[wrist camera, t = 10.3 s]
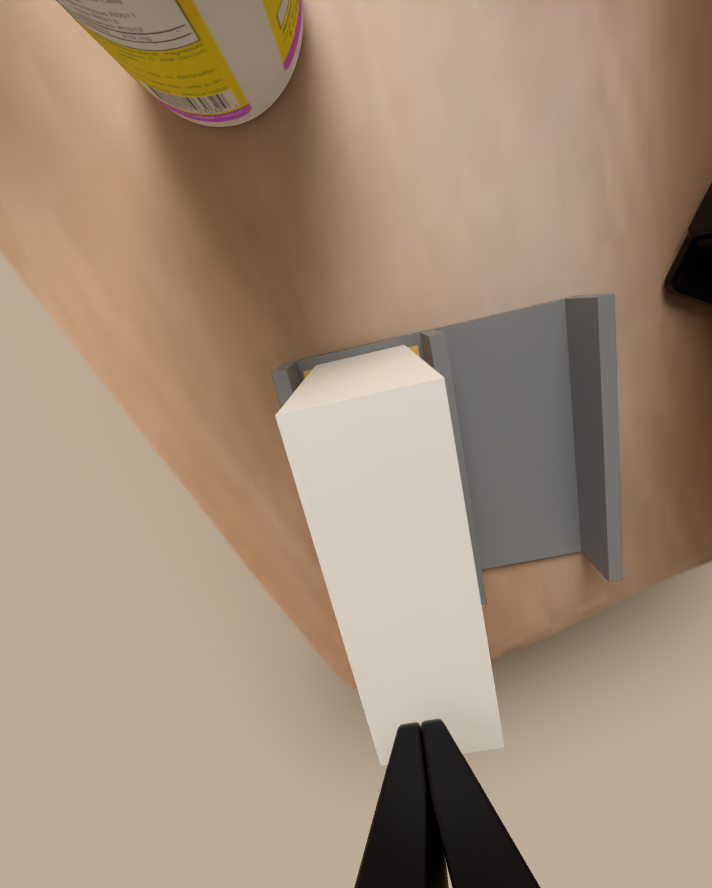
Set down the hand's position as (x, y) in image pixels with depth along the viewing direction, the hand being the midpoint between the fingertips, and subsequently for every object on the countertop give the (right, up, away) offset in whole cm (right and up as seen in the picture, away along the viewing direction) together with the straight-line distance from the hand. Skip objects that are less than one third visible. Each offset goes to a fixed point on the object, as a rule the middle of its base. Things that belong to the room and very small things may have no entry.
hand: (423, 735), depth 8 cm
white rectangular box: (0, +4, +12) cm, 13 cm away
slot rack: (+3, +5, +12) cm, 13 cm away
